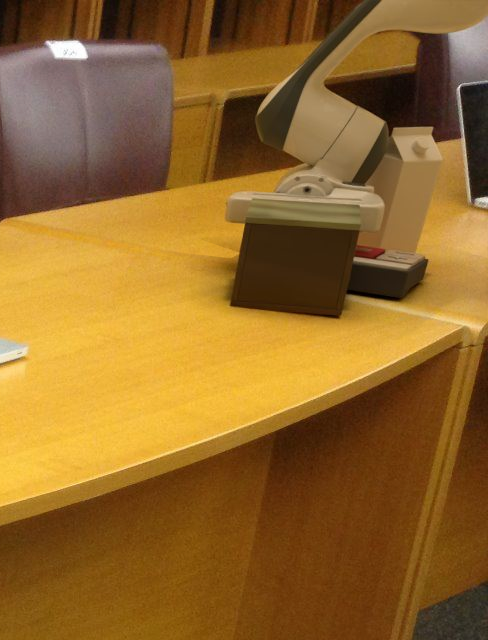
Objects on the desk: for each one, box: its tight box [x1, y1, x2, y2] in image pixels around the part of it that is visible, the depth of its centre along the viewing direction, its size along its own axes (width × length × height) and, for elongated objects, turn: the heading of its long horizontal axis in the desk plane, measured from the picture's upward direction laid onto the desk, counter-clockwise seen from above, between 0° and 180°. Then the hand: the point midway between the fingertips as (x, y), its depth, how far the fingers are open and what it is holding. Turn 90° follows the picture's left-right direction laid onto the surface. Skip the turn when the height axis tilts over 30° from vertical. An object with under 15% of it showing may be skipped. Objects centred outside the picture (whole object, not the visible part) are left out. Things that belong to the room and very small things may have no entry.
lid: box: [245, 198, 361, 230], centre depth 202 cm, size 16×14×1 cm
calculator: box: [347, 245, 429, 299], centre depth 214 cm, size 11×4×15 cm
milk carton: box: [357, 126, 444, 254], centre depth 227 cm, size 7×7×19 cm
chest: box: [229, 223, 360, 317], centre depth 204 cm, size 14×14×11 cm
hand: (302, 220), depth 208 cm, fingers closed
